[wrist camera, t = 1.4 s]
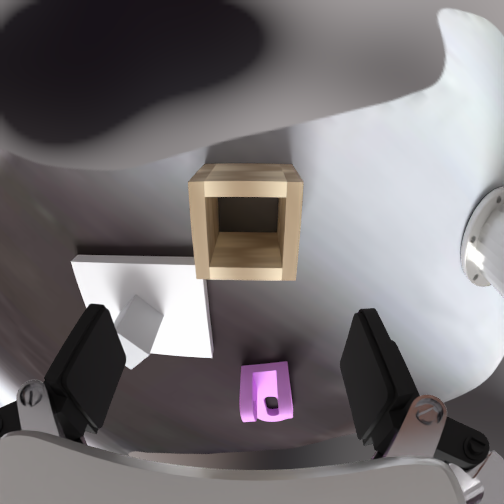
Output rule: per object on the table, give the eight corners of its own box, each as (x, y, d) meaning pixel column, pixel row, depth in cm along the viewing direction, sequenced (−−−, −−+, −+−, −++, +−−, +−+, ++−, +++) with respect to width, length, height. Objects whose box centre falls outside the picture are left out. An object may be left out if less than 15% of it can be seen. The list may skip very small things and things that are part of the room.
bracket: (241, 364, 34) (238, 412, 27) (287, 360, 33) (291, 407, 27) (257, 415, 39) (256, 453, 33) (293, 412, 39) (296, 450, 33)
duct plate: (204, 256, 26) (189, 304, 20) (213, 348, 32) (206, 397, 26) (77, 254, 27) (42, 292, 20) (106, 338, 32) (85, 379, 26)
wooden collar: (292, 164, 22) (303, 182, 17) (287, 243, 26) (295, 280, 20) (204, 163, 22) (188, 181, 17) (208, 242, 26) (196, 279, 20)
